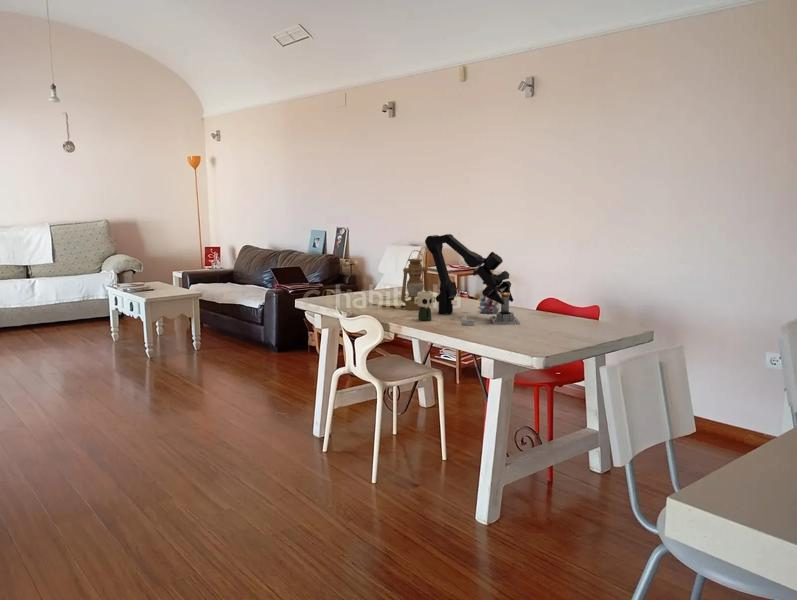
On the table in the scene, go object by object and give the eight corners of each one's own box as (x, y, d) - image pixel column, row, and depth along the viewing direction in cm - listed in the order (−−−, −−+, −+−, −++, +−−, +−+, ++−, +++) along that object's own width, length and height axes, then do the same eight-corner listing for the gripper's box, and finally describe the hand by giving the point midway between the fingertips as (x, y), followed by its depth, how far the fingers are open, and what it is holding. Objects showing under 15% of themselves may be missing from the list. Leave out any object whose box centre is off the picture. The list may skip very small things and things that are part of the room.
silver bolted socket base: (493, 324, 292) (493, 315, 292) (490, 318, 304) (490, 310, 303) (519, 324, 292) (520, 315, 291) (515, 319, 304) (516, 310, 303)
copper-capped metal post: (502, 320, 295) (503, 293, 293) (498, 318, 299) (499, 292, 297) (510, 319, 296) (511, 293, 294) (506, 318, 300) (507, 291, 298)
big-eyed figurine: (417, 322, 296) (417, 294, 294) (411, 319, 302) (411, 292, 300) (438, 320, 300) (439, 292, 298) (431, 317, 307) (432, 290, 304)
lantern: (410, 311, 322) (410, 251, 317) (397, 308, 330) (397, 250, 325) (432, 308, 332) (433, 250, 327) (419, 305, 340) (419, 248, 335)
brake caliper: (501, 310, 313) (486, 290, 314) (483, 322, 317) (468, 302, 318) (505, 306, 324) (491, 287, 325) (487, 318, 328) (474, 299, 329)
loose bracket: (462, 325, 289) (462, 320, 288) (461, 322, 297) (461, 316, 296) (473, 325, 289) (474, 320, 288) (472, 322, 296) (472, 316, 296)
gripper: (488, 267, 289) (510, 294, 284) (508, 263, 303) (528, 289, 299) (473, 283, 295) (493, 309, 290) (493, 278, 309) (513, 304, 305)
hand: (508, 302), depth 296 cm, fingers open, 9 cm apart
